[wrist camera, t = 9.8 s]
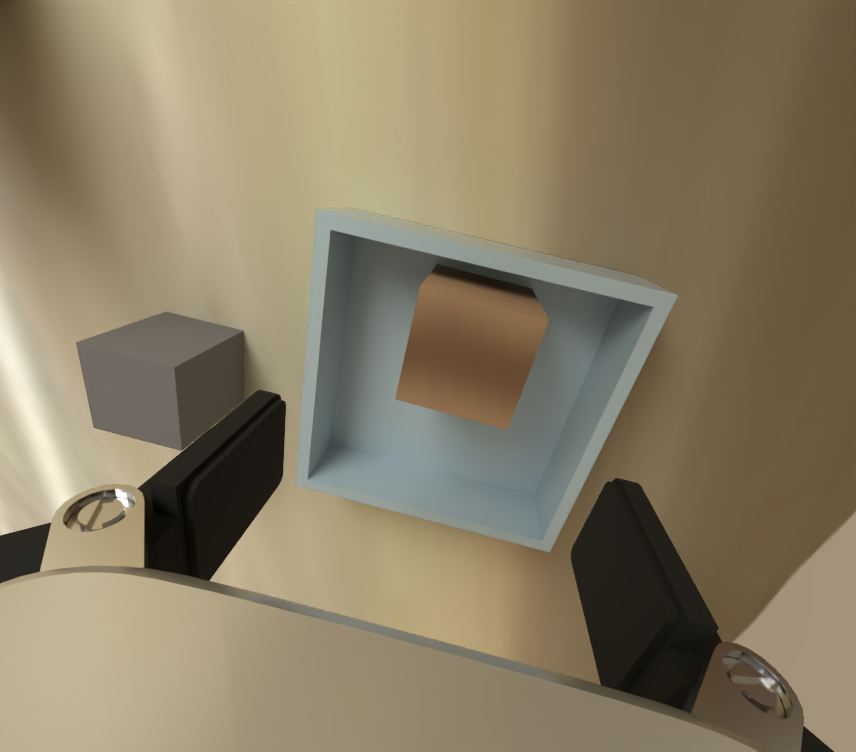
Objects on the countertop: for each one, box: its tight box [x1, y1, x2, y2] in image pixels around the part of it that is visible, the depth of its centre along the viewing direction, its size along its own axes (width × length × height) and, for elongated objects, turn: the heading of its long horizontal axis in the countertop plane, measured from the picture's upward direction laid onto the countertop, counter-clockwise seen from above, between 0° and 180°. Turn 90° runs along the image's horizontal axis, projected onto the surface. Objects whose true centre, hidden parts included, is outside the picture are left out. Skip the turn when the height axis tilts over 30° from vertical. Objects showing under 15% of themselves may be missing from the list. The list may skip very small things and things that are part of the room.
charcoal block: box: [76, 312, 243, 451], centre depth 27 cm, size 6×6×7 cm
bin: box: [296, 208, 678, 552], centre depth 25 cm, size 18×18×5 cm
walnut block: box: [395, 264, 549, 430], centre depth 22 cm, size 6×6×7 cm
